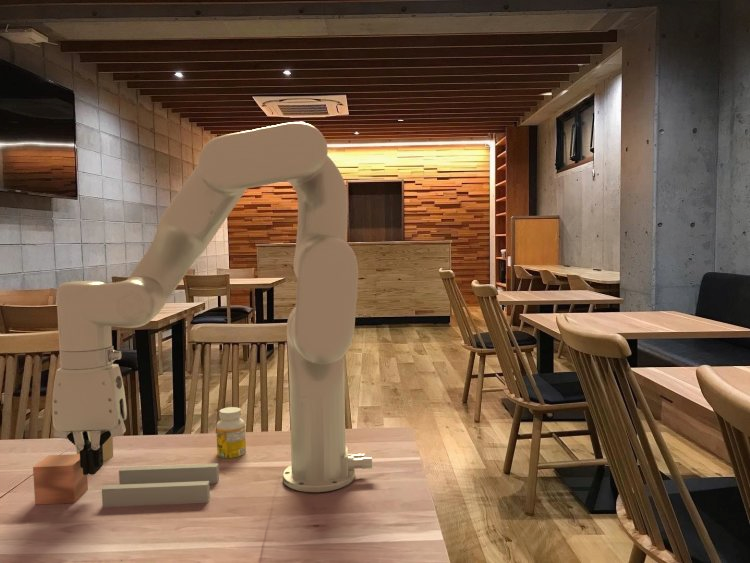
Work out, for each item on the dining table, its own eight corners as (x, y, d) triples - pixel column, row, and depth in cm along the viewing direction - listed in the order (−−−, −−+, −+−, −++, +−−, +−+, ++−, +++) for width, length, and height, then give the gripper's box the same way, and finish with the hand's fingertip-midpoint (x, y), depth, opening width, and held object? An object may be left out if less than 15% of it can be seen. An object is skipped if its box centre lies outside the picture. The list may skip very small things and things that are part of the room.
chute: (220, 482, 103) (220, 459, 102) (206, 514, 91) (205, 489, 91) (78, 488, 101) (77, 465, 101) (44, 521, 89) (42, 496, 89)
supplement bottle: (248, 461, 112) (246, 411, 112) (219, 466, 110) (217, 415, 109) (243, 452, 117) (241, 404, 117) (215, 456, 115) (213, 408, 114)
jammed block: (88, 489, 98) (86, 453, 97) (74, 502, 93) (72, 465, 92) (50, 490, 97) (48, 455, 97) (35, 504, 92) (32, 467, 92)
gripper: (142, 353, 98) (147, 461, 99) (49, 355, 97) (55, 464, 98) (126, 362, 91) (132, 479, 92) (25, 365, 89) (32, 483, 91)
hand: (92, 471), depth 95 cm, fingers closed
